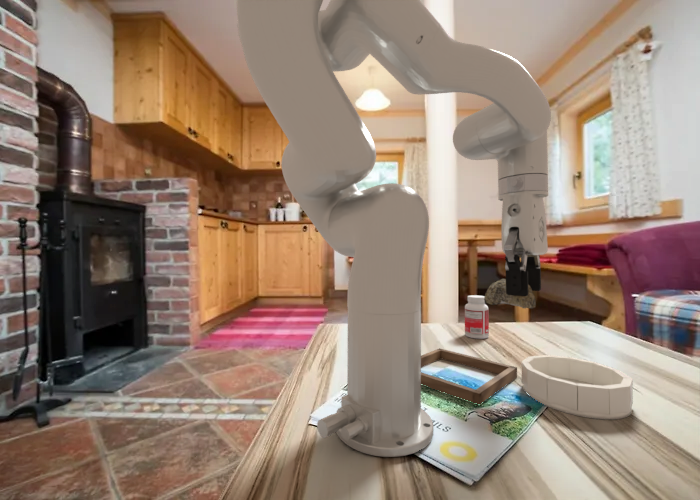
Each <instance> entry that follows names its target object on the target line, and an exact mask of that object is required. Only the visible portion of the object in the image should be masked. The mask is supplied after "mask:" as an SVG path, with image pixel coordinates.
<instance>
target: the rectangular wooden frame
mask: <svg viewBox="0 0 700 500" xmlns="http://www.w3.org/2000/svg"><path fill="white" fill-rule="evenodd" d="M439 360H445V361H448V362H453V363H456V364H459V365H463V366H467V367H471V368H474V369H478V370H483V371H485V372H489V373H493V374H497V375H496V376H494V377H493V378H491V379H490V380H487V382H485V383H484V384H482V385H481V386H479V387H477V388H476V389H475V388H471V387H468V386H465V385H461V384H459V383H457V382H452V381H450V380H447V379H443V378H440V377H437V376H434V375H431V374H428V373H424V372H421V384H423V385H426V386H428V387H430V388H432V389H431V390H433V389H435V390H434V391H436V390H439V391H441V392H440V393H442V392H445V393H447V394H450V395H453V396H456V397H459V398H462V399H465V400H468V401H471V402H473V403H477V404H481V403H482V402H484V401H485V400H486V399H488V398H489V397H490V396H492V395H493V394H494V393H495V392H497V391H498V390H499V391H501V390H502V389H503V388H505V387H506V386H507V385H509V384H510V383H511V382H513V381H514V380H515V379H517V378H518V367H517V366H514V365H513V366H512V365H510V364H509V365H508V364H505V363H500V362H497V361H492V360H489V359H483V358H482V357H481V358H480V357H476V356H473V355H469V354H468V355H467V354H463V353H460V352H455V351H451V350H447V349H443V348H437V349H435V350H432V351H429V352H427V353H425V354H421V368H423V367H425V366H428V365H430V364H432V363H434V362H437V361H439ZM506 384H507V385H506ZM505 385H506V386H505ZM504 386H505V387H504ZM502 387H503V388H502ZM430 388H429V389H430ZM501 388H502V389H501ZM500 389H501V390H500ZM439 391H438V392H439ZM499 391H498V392H499ZM498 392H497V393H498ZM447 394H446V395H447ZM450 395H449V396H450ZM494 395H495V394H494ZM494 395H493V396H494ZM453 396H452V397H453ZM493 396H492V397H493ZM456 397H455V398H456ZM490 398H491V397H490ZM490 398H489V399H490ZM489 399H488V400H489ZM486 401H487V400H486ZM486 401H485V402H486ZM485 402H484V403H485ZM473 403H472V404H473ZM482 404H483V403H482ZM482 404H481V405H482Z"/></svg>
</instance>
